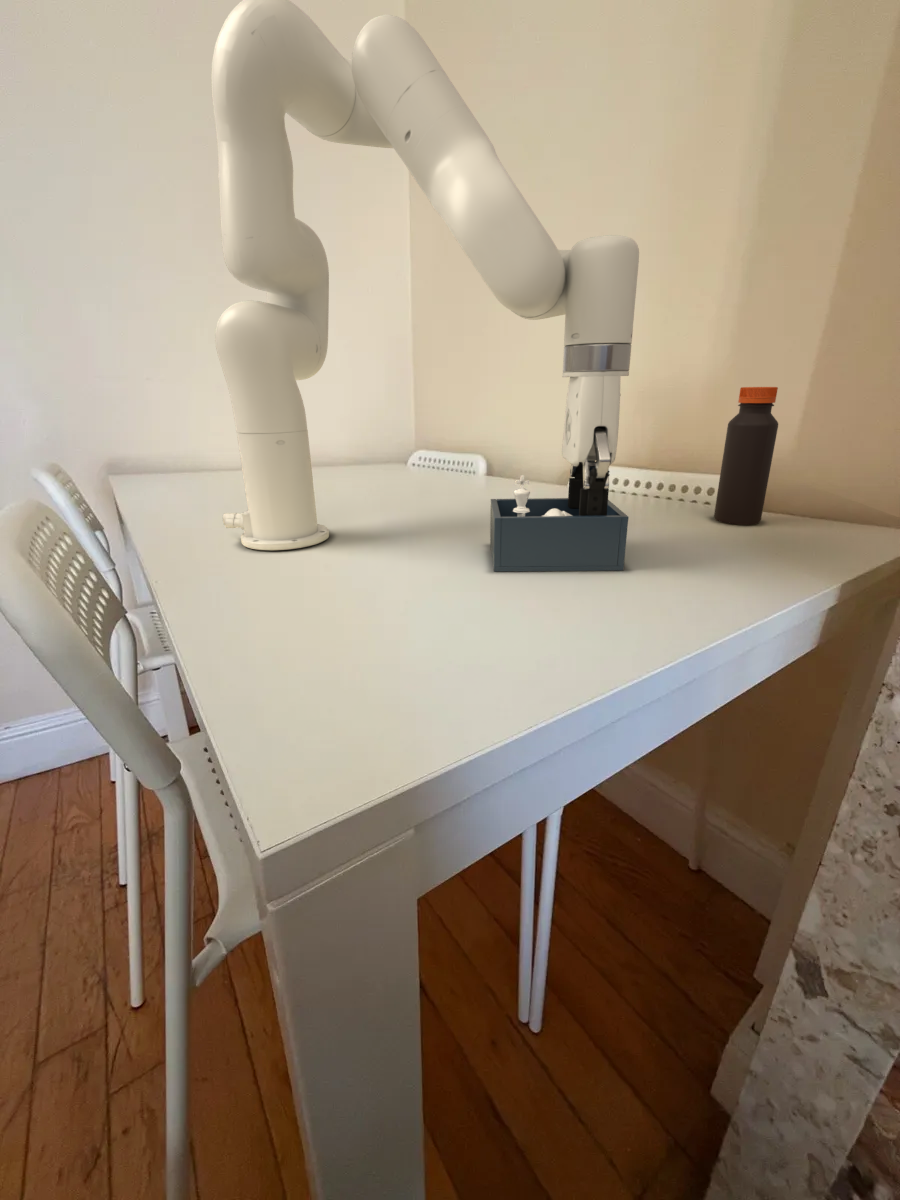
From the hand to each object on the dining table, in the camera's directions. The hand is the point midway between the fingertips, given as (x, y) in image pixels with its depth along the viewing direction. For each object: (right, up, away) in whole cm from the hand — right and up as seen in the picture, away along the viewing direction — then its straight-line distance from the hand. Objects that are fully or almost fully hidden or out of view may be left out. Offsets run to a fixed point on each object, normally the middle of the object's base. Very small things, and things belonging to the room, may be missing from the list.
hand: (585, 513), depth 72 cm
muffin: (-1, -3, 0) cm, 3 cm away
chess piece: (-8, -5, +2) cm, 10 cm away
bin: (-4, -5, +2) cm, 7 cm away
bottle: (+29, +2, +19) cm, 34 cm away
